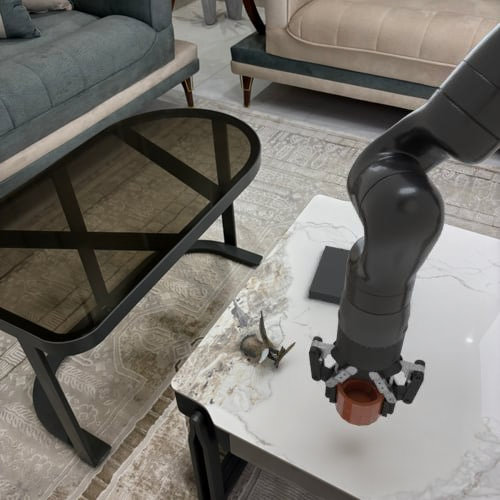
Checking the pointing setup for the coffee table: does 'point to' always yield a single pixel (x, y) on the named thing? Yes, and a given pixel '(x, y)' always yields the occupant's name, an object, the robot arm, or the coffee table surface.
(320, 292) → the scale
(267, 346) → the eagle figurine
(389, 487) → the coffee table surface
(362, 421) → the brown cup
